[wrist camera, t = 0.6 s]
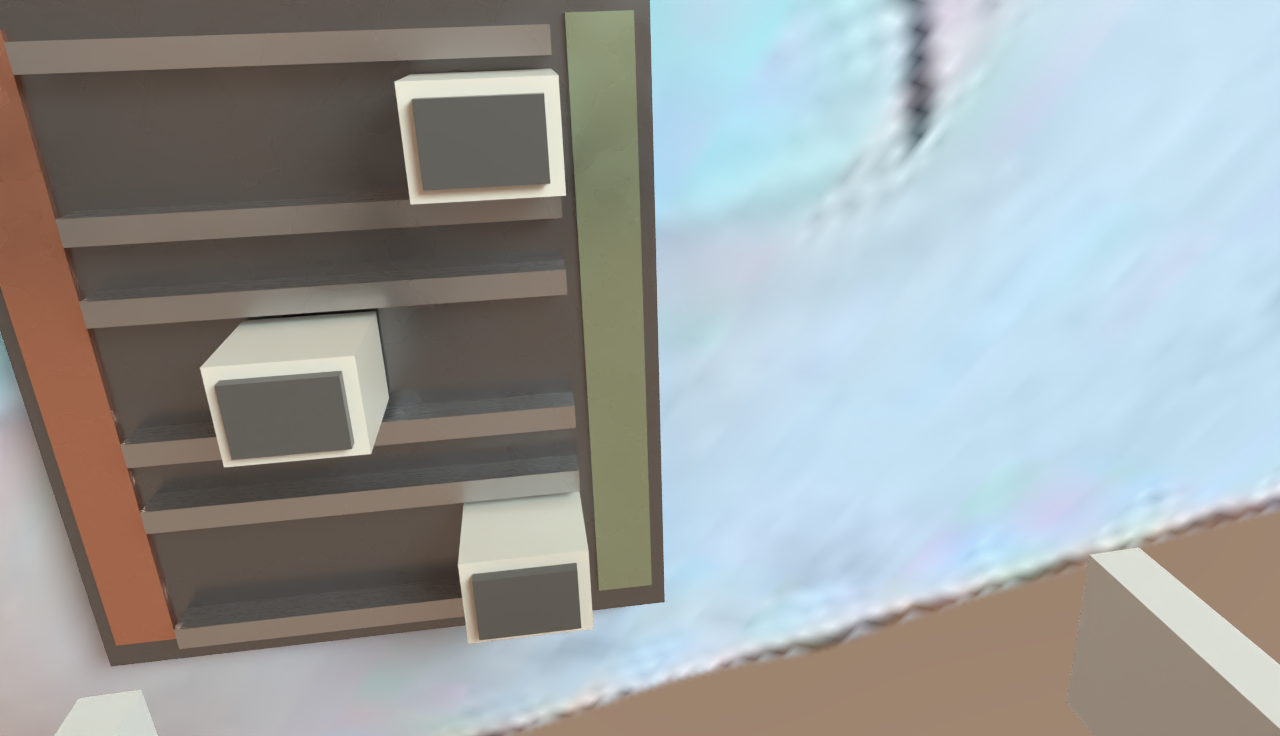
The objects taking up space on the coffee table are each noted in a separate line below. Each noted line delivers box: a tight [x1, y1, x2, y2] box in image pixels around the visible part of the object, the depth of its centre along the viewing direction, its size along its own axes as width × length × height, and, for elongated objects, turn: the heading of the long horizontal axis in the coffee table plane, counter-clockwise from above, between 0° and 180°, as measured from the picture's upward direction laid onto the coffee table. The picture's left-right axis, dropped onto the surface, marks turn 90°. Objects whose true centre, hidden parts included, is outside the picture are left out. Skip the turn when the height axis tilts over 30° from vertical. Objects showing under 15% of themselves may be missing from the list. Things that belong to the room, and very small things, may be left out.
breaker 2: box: [394, 68, 566, 204], centre depth 23 cm, size 4×3×4 cm
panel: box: [0, 0, 664, 666], centre depth 28 cm, size 20×22×3 cm
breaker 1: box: [200, 311, 389, 467], centre depth 25 cm, size 4×3×4 cm
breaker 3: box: [458, 491, 593, 644], centre depth 28 cm, size 4×3×4 cm
